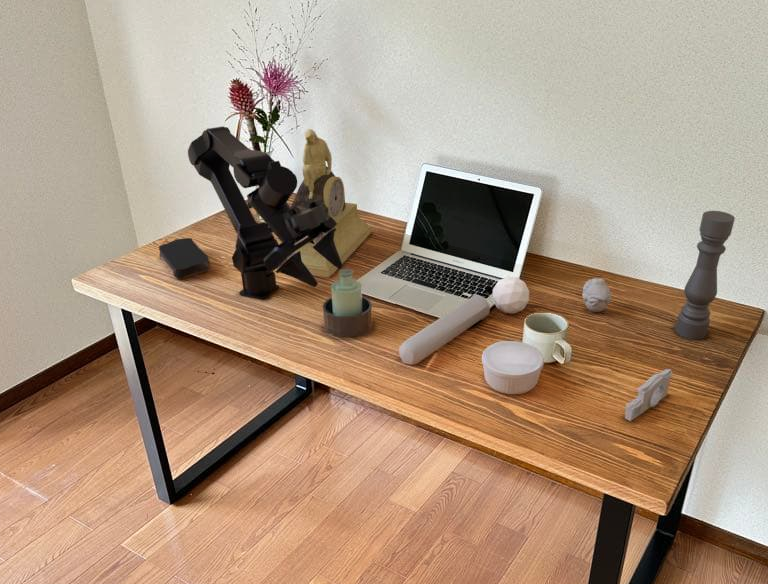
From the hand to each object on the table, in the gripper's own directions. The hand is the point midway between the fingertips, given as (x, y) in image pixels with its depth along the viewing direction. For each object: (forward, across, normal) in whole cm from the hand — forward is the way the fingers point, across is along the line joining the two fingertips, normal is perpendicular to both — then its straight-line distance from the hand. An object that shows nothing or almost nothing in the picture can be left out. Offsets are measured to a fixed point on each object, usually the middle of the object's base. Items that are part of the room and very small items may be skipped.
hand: (329, 276), depth 144 cm
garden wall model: (+53, 0, -38) cm, 65 cm away
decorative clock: (-7, +30, +22) cm, 38 cm away
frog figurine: (+41, +30, -26) cm, 57 cm away
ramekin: (+36, -4, -21) cm, 42 cm away
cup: (+10, 0, +5) cm, 11 cm away
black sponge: (-24, +8, +40) cm, 47 cm away
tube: (+24, +4, -9) cm, 26 cm away
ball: (+30, +22, -14) cm, 39 cm away
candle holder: (+55, +30, -40) cm, 75 cm away
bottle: (+10, 0, +5) cm, 11 cm away
